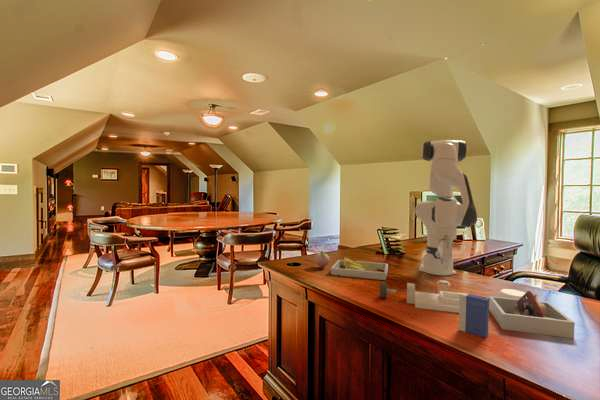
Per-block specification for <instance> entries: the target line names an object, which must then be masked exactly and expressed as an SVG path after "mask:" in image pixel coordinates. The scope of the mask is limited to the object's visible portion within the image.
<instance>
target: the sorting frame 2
mask: <svg viewBox="0 0 600 400" xmlns="http://www.w3.org/2000/svg"><path fill="white" fill-rule="evenodd" d="M488 298H489V313H490V314H491V315H492V317H493V318H494V319H495V321H496V322H497V324H498V325H499V327H500V328H501V329H502V330H505V331H506V330H507V331H512V332H513V331H514V332H521V333H530V334H537V335H545V336H550V337H551V336H552V337H559V338H560V337H561V338H567V339H575V326H576V325H575V323H576V322H575V321H573V320H572V319H571V318H569V316H567V315H566V314H565V313H563V312H562V311H561V310H560V309H558V308H557V307H556V306H554V305H553V304H552V303H550V302H549V301H548V302H547V301H539V300H538V302H540V303H542V304H544V305H545V307H546V309H547V315H546V317H547V318H541V317H533V316H524V315H516V314H512V313H513V311H512V309H514V306H515V305H518V304H517V302H518V300H519V299H511V298H502V297H500V296H493V295H492V296H491V295H490V296H489V295H488ZM526 303H527V302H526ZM526 303H523V304H524V307H525V306H526ZM550 318H554V319H550Z"/></svg>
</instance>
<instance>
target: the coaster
mask: <svg viewBox="0 0 600 400" xmlns="http://www.w3.org/2000/svg"><path fill="white" fill-rule="evenodd" d="M526 292H527V291H526ZM526 292H525V291H522V290H520V289H519V290H518V289H514V288H502V289H500V290H499V297H502V298H511V299H520V298H521V297H522V296H523V295H524V294H525V293H526ZM526 299H527V297H526ZM523 300H524V299H523Z"/></svg>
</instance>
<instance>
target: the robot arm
mask: <svg viewBox="0 0 600 400" xmlns="http://www.w3.org/2000/svg"><path fill="white" fill-rule="evenodd" d="M468 150H469V148H468V145H467V143H466V141H464V140H459V139H457V140H455V139H452V140H451V139H444V140H443V139H442V140H428V141H425V142H424V143H423V144H422V145H421V149H420V153H421V154H420V155H421V157H422V159H423V160H424V161H426V162H430V161H431V167H430V173H429V187H428V188H429V191H430V192H431V193H432V194H433V195H436V196H437V198H436V200H425V201H420V202H418V203H417V204H416V206H415V209H414V213H415V215H416V217H417V218H418V219H419V220H420V221H421V222H422V224H423V225H424V227H425V230H426V236H427V237H426V238H427V239H426V241H427V242H426V244H427V245H426V247H425V252H426V253H425V254H423V256H422V257H421V260H422V261H421V262H422V263H421V266H420V267H419V268H418V271H419V272H423V273H426V274H430V275H434V276H435V275H437V276H451V275H457V271H456V270H455V269H454V259H453V243H454V240H457V237H458V236H457V234H458V233H457V231H458V227H463V228H470V227H473V226H474V225H476V224H477V221H478V212H477V211H478V210H477V209H476V206H475V203H474V198H473V194H472V190H471V186H470V181H469V179H468V176H467V174H466V173H465V172H464V171H462V170H461V169H460V167H459V162H462V161H463V160H464V159H466V156H467V155H468ZM453 187H454V188H457V189H458V191H459V193H460V198H461V201H462V203H461V202H459V201H458V200H457V198H456V197H455V194H454V192H453Z"/></svg>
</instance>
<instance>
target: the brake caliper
mask: <svg viewBox="0 0 600 400" xmlns="http://www.w3.org/2000/svg"><path fill="white" fill-rule="evenodd" d="M537 296H538V294H536V293H533V292H532V291H531V290H527V291H526V293H525V294H524V295H523V296H522V297H521V298H520V299H519V300H518V302H517V304H518V305H515V306H514V309H512V311H513V313H511V314H516V315H524V316H533V317H541V318H547V317H546V315H547V309H546V307H545V305H544V304H542V303H540V302H541V301H540V302H538V301H539V300H538V299H537ZM526 297H527V299H526ZM523 299H524V300H523ZM526 302H527V303H526ZM523 303H526V306H525V307H524V304H523ZM550 319H554V318H550Z"/></svg>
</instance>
